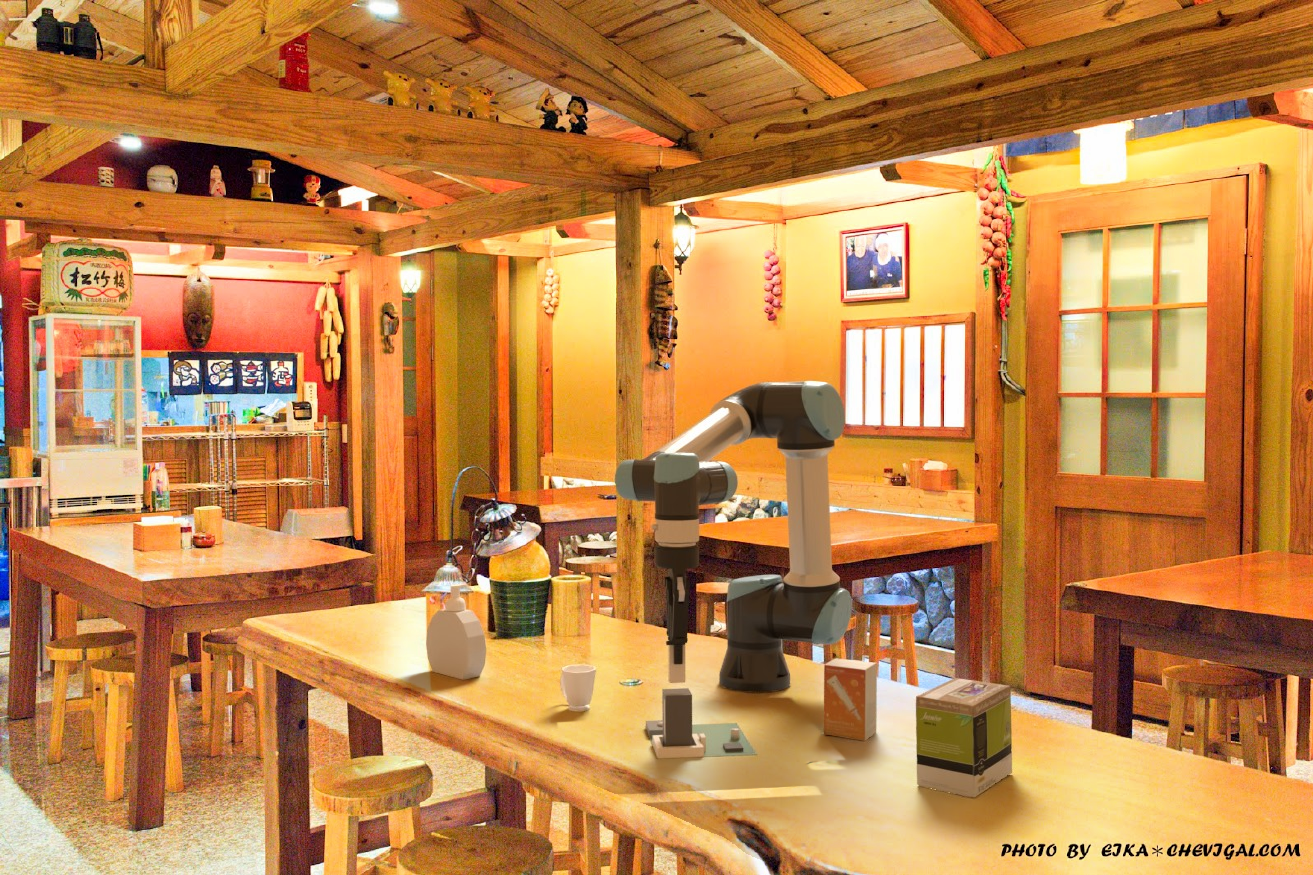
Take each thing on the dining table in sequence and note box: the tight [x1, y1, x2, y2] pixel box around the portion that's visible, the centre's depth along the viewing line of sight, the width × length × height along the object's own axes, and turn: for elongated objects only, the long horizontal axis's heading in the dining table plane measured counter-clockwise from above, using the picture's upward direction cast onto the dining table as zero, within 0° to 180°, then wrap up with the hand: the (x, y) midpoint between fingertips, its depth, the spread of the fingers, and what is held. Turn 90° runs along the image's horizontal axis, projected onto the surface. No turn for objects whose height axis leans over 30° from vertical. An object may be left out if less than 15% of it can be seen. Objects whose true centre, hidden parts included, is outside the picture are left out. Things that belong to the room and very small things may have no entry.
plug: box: [661, 687, 693, 747], centre depth 196 cm, size 4×4×10 cm
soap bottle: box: [425, 583, 487, 681], centre depth 256 cm, size 16×5×20 cm, turn 46°
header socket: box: [651, 733, 706, 759], centre depth 196 cm, size 9×8×2 cm
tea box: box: [915, 677, 1013, 798], centre depth 183 cm, size 15×10×15 cm
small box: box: [823, 657, 878, 742], centre depth 209 cm, size 8×6×13 cm
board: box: [644, 722, 758, 760], centre depth 202 cm, size 17×19×3 cm
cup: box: [559, 663, 597, 713], centre depth 228 cm, size 7×10×8 cm
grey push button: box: [645, 719, 663, 739], centre depth 205 cm, size 6×10×3 cm, turn 7°
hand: (676, 681), depth 196 cm, fingers closed
